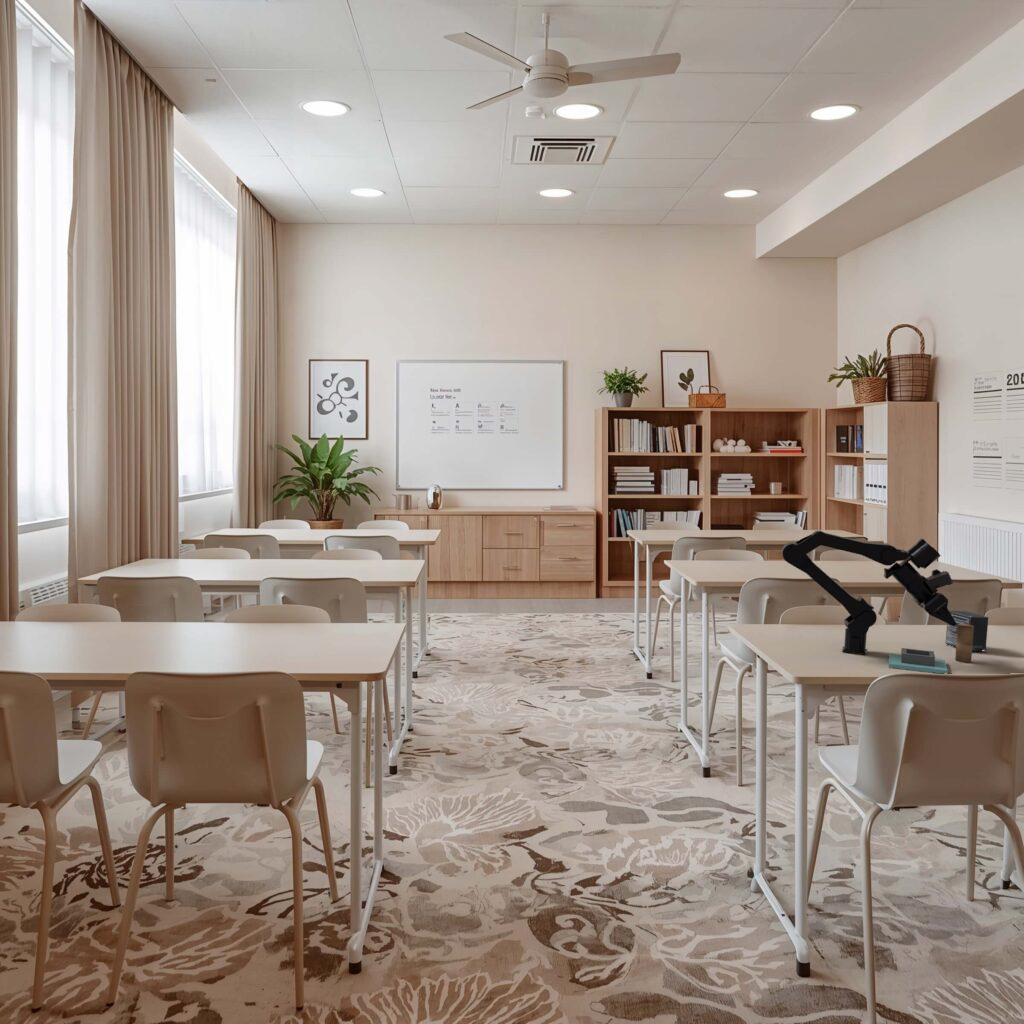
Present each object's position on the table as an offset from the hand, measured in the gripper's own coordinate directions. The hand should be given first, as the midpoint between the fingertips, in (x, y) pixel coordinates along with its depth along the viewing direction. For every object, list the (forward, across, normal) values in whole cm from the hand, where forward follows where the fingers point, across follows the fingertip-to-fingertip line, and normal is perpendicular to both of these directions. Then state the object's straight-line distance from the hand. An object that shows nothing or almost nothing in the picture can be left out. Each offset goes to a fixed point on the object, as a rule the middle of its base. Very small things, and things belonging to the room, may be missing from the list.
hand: (951, 622), depth 248 cm
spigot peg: (+10, 0, +5) cm, 11 cm away
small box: (+14, +20, +2) cm, 24 cm away
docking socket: (0, -11, +15) cm, 18 cm away
